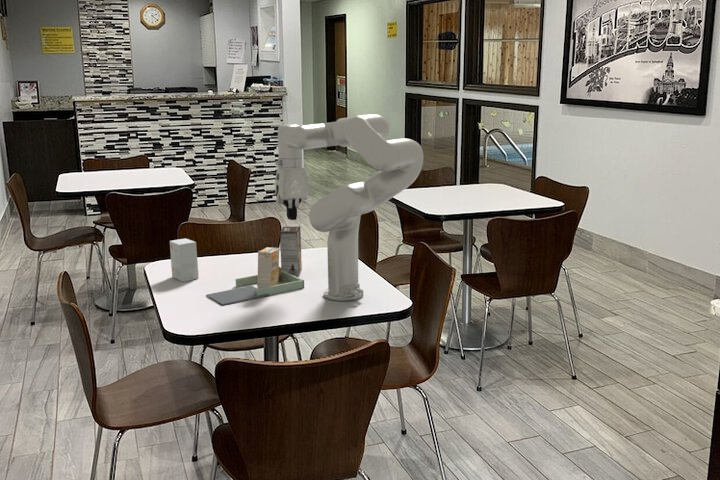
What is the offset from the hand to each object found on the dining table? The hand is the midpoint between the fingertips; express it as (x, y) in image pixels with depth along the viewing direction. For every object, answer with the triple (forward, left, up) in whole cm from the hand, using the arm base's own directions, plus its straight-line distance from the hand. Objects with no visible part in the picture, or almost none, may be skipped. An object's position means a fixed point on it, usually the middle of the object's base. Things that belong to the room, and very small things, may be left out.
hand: (292, 219), depth 233 cm
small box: (+30, +26, -22) cm, 45 cm away
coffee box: (+12, -6, -22) cm, 26 cm away
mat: (0, +21, -22) cm, 30 cm away
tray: (+2, +8, -22) cm, 24 cm away
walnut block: (+7, +4, -22) cm, 24 cm away
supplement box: (0, +10, -22) cm, 24 cm away
